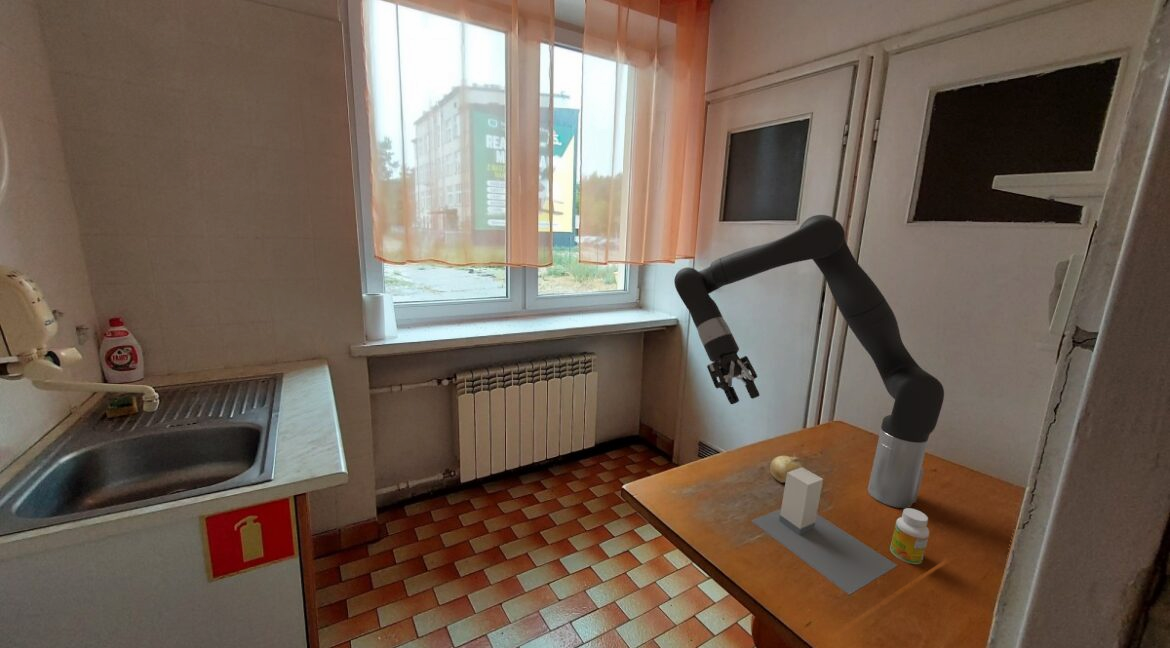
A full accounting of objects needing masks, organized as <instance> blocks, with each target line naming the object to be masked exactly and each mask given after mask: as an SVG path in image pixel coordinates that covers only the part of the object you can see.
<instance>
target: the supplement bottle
mask: <svg viewBox="0 0 1170 648" xmlns="http://www.w3.org/2000/svg"><path fill="white" fill-rule="evenodd" d="M928 522H929V517H928V516H927V514H925V513H923V512H922V511H920V510H918V509H916V508H911V507H909V508H903V511H902V514H901V516H900V517H898V518H897V519H896V522H895V525H894V530H893V534H892V538H891V543H890V547H889V549H890V552H891V553H892V554H893V555H894V556H895V557H896V558H897V559H900V560H901V561H902V562H906V563H908V564H914V565H920V564H921V563H922V562H923V559H924V556H925V551H926V549H927V544H928V540H929V537H930V530H929V528H928V526H927V525H928Z"/></svg>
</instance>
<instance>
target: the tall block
mask: <svg viewBox="0 0 1170 648" xmlns="http://www.w3.org/2000/svg"><path fill="white" fill-rule="evenodd" d="M823 481H824V478H822V477H820V476H818V475H817V474H815V473H814V472H811V471H809V470H808V469H806V468H804V467H803V468H799V469H796V470H793V471H790V472H787V477H786V483H785V482H784V483H785V484H784V488H783V489H784V490H783V495H782V501H781V508H780V509H781V513H780V519H779V521H780V522H781V523H783V524H784V525H786V526H787V527H788V528H790V529H791V530H793V531H794V532H795V533H797V534H798V535H801V534H803V533H805V532H807V531H809V530H812V529H814V526H815V521H816V515H817V514H818V509H819V505H820V498H821V494H822V488H823V483H824V482H823Z"/></svg>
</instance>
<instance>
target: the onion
mask: <svg viewBox="0 0 1170 648" xmlns="http://www.w3.org/2000/svg"><path fill="white" fill-rule="evenodd" d="M799 468H804V467H803V464H802V463H801V462H800V461H799V458H798V457H797V456H796V453H794V454H793V456H789V455H779V456H776V457H774V459H772V461H771V462H770V466H769V469H770V473H771V475H772V477H773V478H774V479H775V480H776V481H778V483H781V484H784V483H786V477H787V472H790V471H793V470H796V469H799Z"/></svg>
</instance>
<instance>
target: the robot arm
mask: <svg viewBox="0 0 1170 648" xmlns="http://www.w3.org/2000/svg"><path fill="white" fill-rule="evenodd" d="M845 236H846V233H845V229H844V227H843V225H842V224H841V223H840V222H839V221H838V220H837V219H835V218H834V217H833V216H830V215H826V214H816V215H813V216H810V217H808V218H807V219H805V220H804V221H803V223H801V225H800V227H799V229H797V230H795V231H792V232H791V233H789V234H787V235H785V236H783V237H781V238H778V239H775V240H772V241H770V242H767V243H764V244H760V245H757V246H751V247H748V248H744V249H741V250H738V251H735V252H732V253H729V254H727V255H725V256H722V257H718V259H715V260H713V261H712V262H710V266H708V267H706V268H703V269H702V270H697V269H696V268H693V267H683V268H680V270H678V271H677V272H676V274H675V276H674V287H675V290H676V292H677V294H678V296H679V297H680V299H681V301H682V302H683V304H684V305H685V307H686V308H687V310H688V312H689V313H690V316H691V320H692V322H693V323H694V327H695V328H696V331H697V334H698V336H699V339H700V342H701V343H702V346H703V347H704V350H705V352H706V355H707V356H708V359H709V361H710V362H711V363H709V364H707V365H706V367H707V370H708V373H709V375H710V377H711V380H712V382H713V385H714V388H716V389H717V390H718V389H721V390H722V391H723V392H724V394H725V396H726V398H727V400H728V402H729V404H730V405H734V404H738V403H739V402H740V399H739V396H738V395H737V392H736V390H735V388H734V386H733V379H734V378H735V379H737V380H740V381H741V382H742V383H743V384H744V387H745V388H746V391H747V393H748V396H749V398H751V399H752V400H753V399H755V398H758V397H760V392H759V390H758V388H757V385H756V384H755V380H756V379H757V378H758V374H757V373H756V370H755V369H754V366H753V364H752V363H751V361H750V360H749V358H748V356H747V355H744V356H742V357H739V356H738V352H739V351H740V348H739V345H738V343H737V342H736V340H735V337H734V335H733V333H732V331H731V328H730V327H729V325H728V323H727V322H726V320H725V319H724V316H723V314H722V313H721V310H720V309H719V306H718V305H717V303H716V302H715V300H714V299H713V298H712V297H711V296H710V294H711V293H713V292H715V291H717V290H718V289H720V288H722V287H724V286H727V285H730V284H733V283H734V284H735V283H736V282H739V281H742V280H745V279H748V278H751V277H753V276H757V275H758V274H761V273H764V272H767V271H769V270H772V269H776V268H779V267H783V266H787V265H791V264H795V263H799V262H804V261H809V260H812V261H813V262H814V264H815V265H816V267H817V268H818V269H819V270H820V272H821V273H822V275H823V277H824V279H825V280H826V283H827V285H828V289H829V291H830V292H831V295H832V297H833V300H834V302H835V304H836V306H837V308H838V310H839V312H840V313H841V316H842V317H843V319H844V320H845V322H846V323H847V325H848V327H849V328H850V330H851V332H852V333H853V334H854V336H855V337H856V339H857V340H858V342H859V343H860V345H862V347H863V348H864V349H865V351H866V352H867V353H868V355H869V356H870V357H871V359H872V361H873V363H874V364H875V367H876V369H877V371H878V373H879V375H880V378H881V380H882V382H883V385H884V387H885V389H886V391H887V393H888V394H889V395H890V397H892V398H893V399H894V402H893V407H892V409H891V410H892V411H891V414H888V415H886V416H884V417H883V418H882V422H881V425H880V432H879V436H878V440H877V445H876V450H875V454H874V460H873V463H872V467H871V468H872V469H871V471H870V472H871V473H870V477H869V483H868V486H867V492H868V494H869V495H870V496H871V497H872V498H873V499H875V500H876V501H878V502H880V503H882V504H884V505H887V506H890V507H893V508H898V509H906V508H911V507H912V505H913V504H916V503H917V499H918V495H919V491H920V487H921V484H922V480H923V479H922V478H923V474H924V471H925V467H923V462H924V458H925V454H926V450H927V449H926V448H927V444H928V441H929V437H930V435H931V434H932V433H933V432H934V430H935V429H936V426H937V423H938V421H939V416H940V415H941V410H942V408H943V403H944V400H945V399H944V398H945V388H944V386H943V384H942V383H941V382H940V381H939V379H937V377H935V376H933V375H932V374H930V373H929V372H927V371H925V370H924V369H923V368H922V367H921V366H920V365H919V364H918V363H917V362H916V361H915V359H914V358H913V357H912V355H911V353H910V352H909V351H908V349H907V348H906V346H905V345H904V343H903V340H902V337H901V332H900V329H899V324H898V321H897V317H896V315H895V313H894V311H893V309H892V307H891V306H890V304H889V303H888V301H887V300H886V298H885V296H884V295H883V293H882V292H881V290H880V288H878V286H877V285H876V284H875V282H874V281H873V280H872V278H871V277H870V275H868V274H867V272H866V271H865V270H864V269H863V268H862V266H860V265H859V263H858V262H857V260H856V259H855V257H854V255H853V254H852V252H851V249H850V248H849V246H848V243H847V241H846V237H845ZM718 380H719V381H718Z"/></svg>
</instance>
